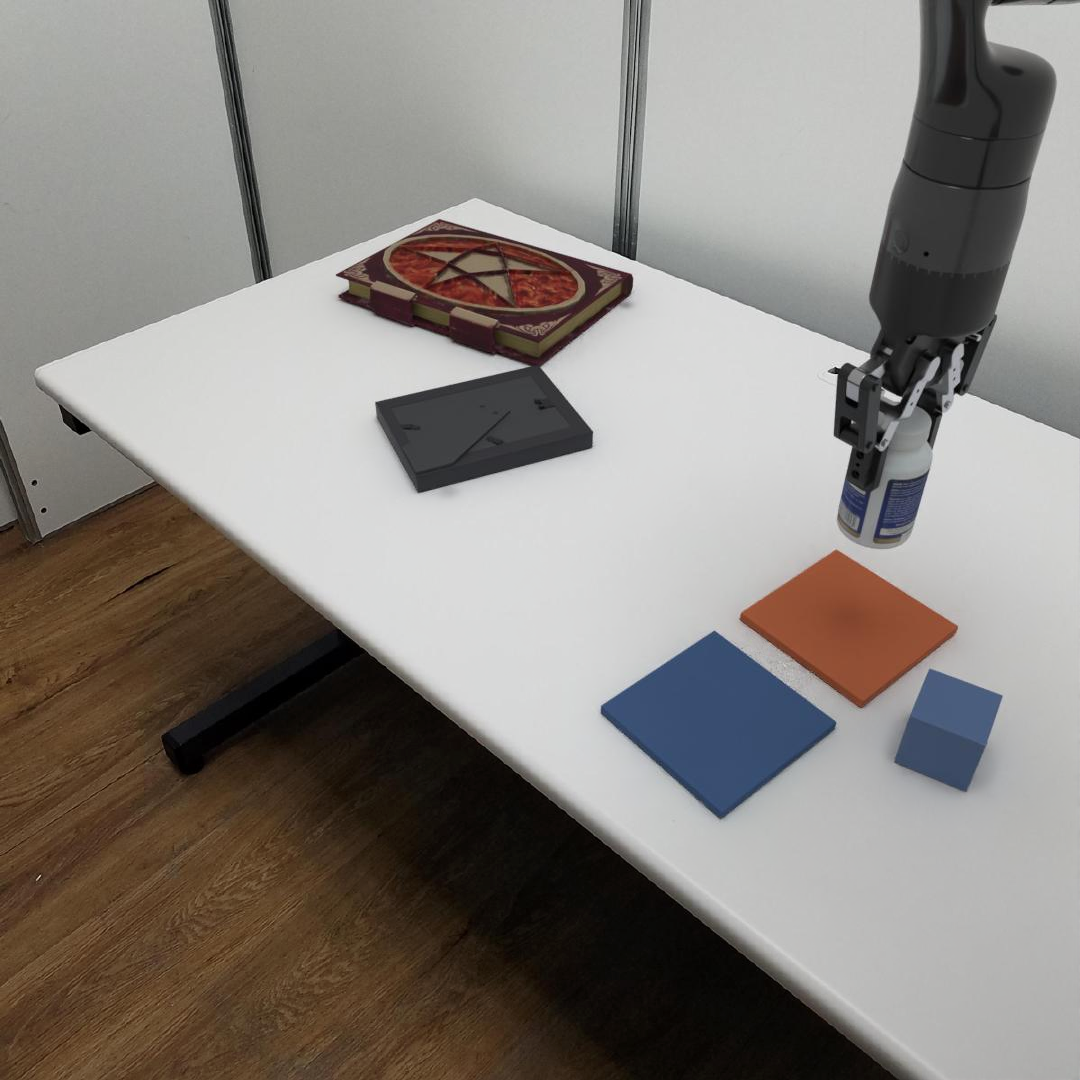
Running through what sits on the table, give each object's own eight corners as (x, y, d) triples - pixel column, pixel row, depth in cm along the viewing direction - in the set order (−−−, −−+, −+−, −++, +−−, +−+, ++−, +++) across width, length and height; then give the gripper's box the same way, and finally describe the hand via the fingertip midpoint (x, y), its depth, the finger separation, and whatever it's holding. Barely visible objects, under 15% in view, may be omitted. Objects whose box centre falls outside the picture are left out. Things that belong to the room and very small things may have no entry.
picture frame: (417, 493, 98) (592, 447, 103) (415, 473, 96) (593, 428, 102) (376, 418, 107) (538, 379, 112) (374, 399, 106) (538, 361, 111)
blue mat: (835, 729, 77) (837, 721, 76) (720, 819, 71) (721, 812, 71) (713, 637, 84) (714, 629, 83) (600, 712, 78) (600, 705, 78)
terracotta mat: (956, 633, 84) (958, 626, 83) (861, 708, 78) (863, 701, 78) (834, 556, 91) (836, 548, 91) (739, 619, 85) (740, 612, 85)
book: (632, 297, 127) (634, 257, 124) (534, 372, 114) (535, 330, 110) (442, 241, 139) (440, 204, 136) (334, 302, 126) (329, 263, 122)
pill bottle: (916, 516, 79) (949, 405, 72) (903, 560, 75) (936, 447, 69) (844, 497, 81) (869, 387, 74) (827, 539, 77) (852, 428, 70)
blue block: (983, 741, 76) (1003, 695, 73) (966, 792, 73) (986, 745, 69) (913, 714, 78) (929, 667, 75) (893, 762, 75) (909, 715, 71)
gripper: (929, 300, 58) (868, 538, 69) (1070, 227, 65) (994, 454, 76) (819, 253, 62) (778, 484, 73) (962, 189, 69) (905, 408, 80)
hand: (888, 467), depth 74 cm, fingers closed on pill bottle, 5 cm apart
